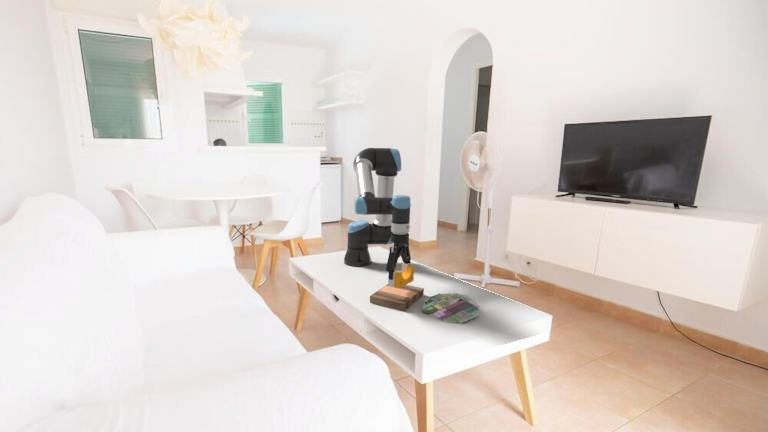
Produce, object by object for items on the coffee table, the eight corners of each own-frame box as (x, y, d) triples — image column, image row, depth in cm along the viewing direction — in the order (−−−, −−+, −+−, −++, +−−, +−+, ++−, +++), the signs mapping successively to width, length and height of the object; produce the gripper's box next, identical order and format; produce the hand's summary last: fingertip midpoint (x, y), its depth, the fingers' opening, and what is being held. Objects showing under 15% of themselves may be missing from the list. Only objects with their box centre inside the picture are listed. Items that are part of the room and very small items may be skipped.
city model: (407, 316, 148) (406, 302, 147) (436, 293, 166) (436, 280, 165) (465, 337, 134) (465, 322, 132) (490, 309, 152) (490, 296, 150)
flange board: (391, 287, 172) (391, 281, 172) (423, 294, 165) (423, 288, 165) (369, 302, 155) (370, 295, 154) (404, 311, 148) (405, 303, 147)
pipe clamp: (404, 278, 164) (405, 264, 163) (413, 280, 162) (414, 266, 160) (390, 286, 154) (390, 271, 153) (398, 288, 152) (399, 273, 151)
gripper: (395, 239, 143) (393, 292, 146) (419, 228, 164) (417, 275, 168) (378, 236, 146) (376, 288, 150) (404, 226, 167) (402, 272, 171)
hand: (398, 281), depth 159 cm, fingers closed on pipe clamp, 12 cm apart
